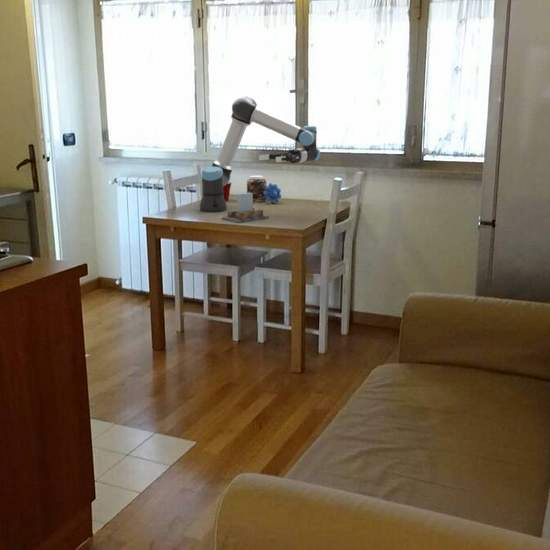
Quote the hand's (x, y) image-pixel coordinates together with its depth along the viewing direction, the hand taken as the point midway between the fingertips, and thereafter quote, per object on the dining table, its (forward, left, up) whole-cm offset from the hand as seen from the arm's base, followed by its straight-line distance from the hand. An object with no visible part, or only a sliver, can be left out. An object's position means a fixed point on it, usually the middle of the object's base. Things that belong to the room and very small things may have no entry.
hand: (267, 158), depth 378 cm
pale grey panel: (-5, -16, -29) cm, 33 cm away
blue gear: (-15, +33, -30) cm, 47 cm away
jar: (-28, +36, -30) cm, 55 cm away
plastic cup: (-47, +29, -30) cm, 63 cm away
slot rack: (-5, -16, -30) cm, 34 cm away
